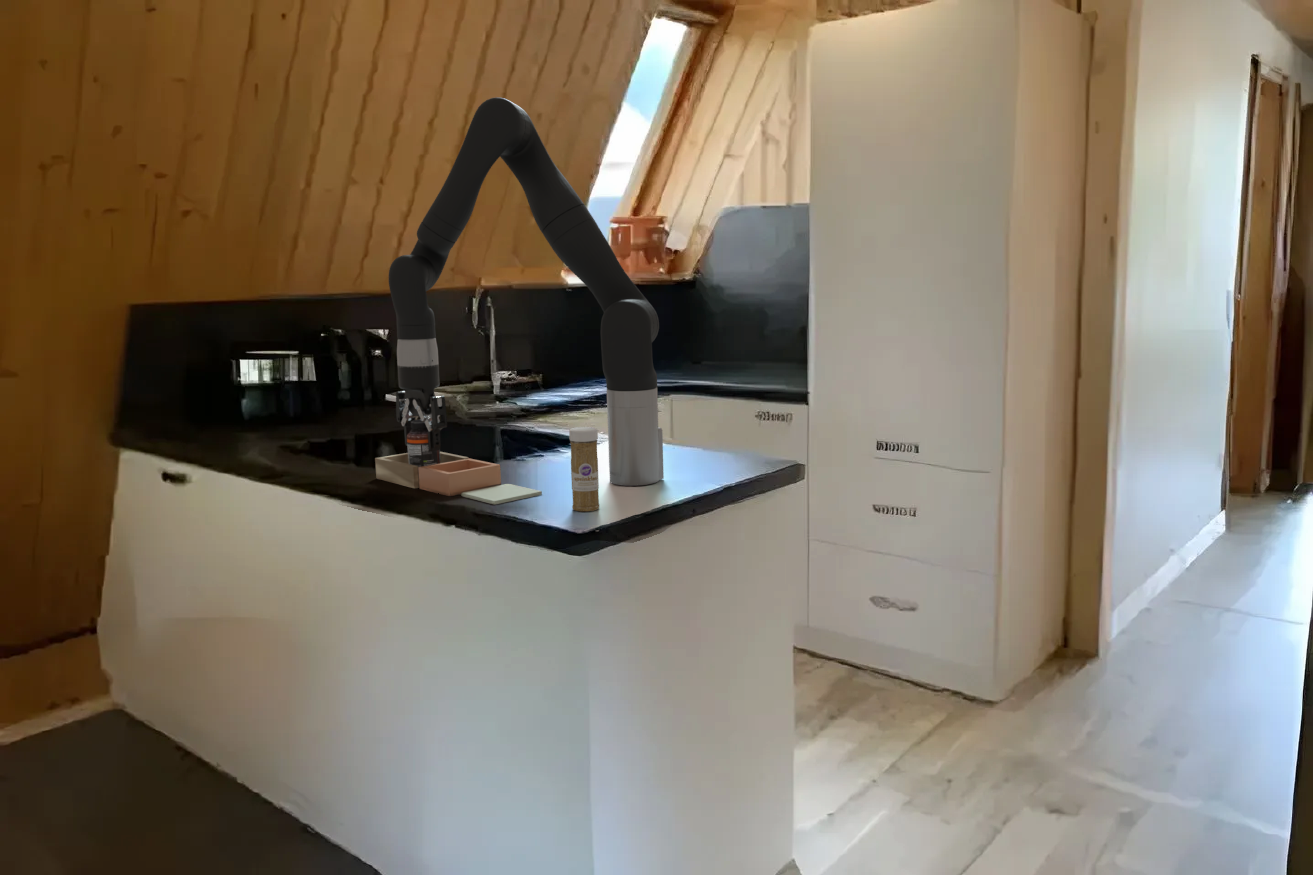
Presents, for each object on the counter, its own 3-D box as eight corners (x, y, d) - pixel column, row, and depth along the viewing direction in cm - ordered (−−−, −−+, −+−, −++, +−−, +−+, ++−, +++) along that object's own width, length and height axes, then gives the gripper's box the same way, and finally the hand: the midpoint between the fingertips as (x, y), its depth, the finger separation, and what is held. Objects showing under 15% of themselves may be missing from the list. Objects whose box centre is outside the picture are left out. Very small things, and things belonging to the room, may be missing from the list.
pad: (508, 486, 186) (508, 483, 186) (541, 494, 179) (541, 491, 179) (461, 496, 179) (461, 492, 179) (494, 504, 172) (494, 501, 172)
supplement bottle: (428, 474, 199) (424, 417, 197) (448, 478, 195) (444, 419, 194) (403, 480, 195) (399, 421, 193) (422, 483, 191) (419, 423, 189)
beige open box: (430, 468, 205) (429, 449, 204) (469, 477, 195) (468, 457, 194) (376, 478, 197) (375, 458, 196) (414, 488, 187) (412, 466, 186)
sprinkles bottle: (577, 513, 164) (574, 431, 162) (568, 507, 168) (565, 427, 166) (604, 510, 166) (601, 428, 164) (594, 504, 170) (591, 425, 168)
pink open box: (470, 479, 194) (469, 458, 193) (501, 486, 187) (500, 464, 186) (419, 488, 186) (418, 467, 186) (449, 496, 179) (448, 474, 178)
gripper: (456, 363, 189) (460, 449, 192) (415, 359, 199) (420, 441, 202) (420, 366, 184) (425, 455, 187) (381, 362, 194) (386, 446, 197)
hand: (422, 447), depth 194 cm, fingers open, 8 cm apart
